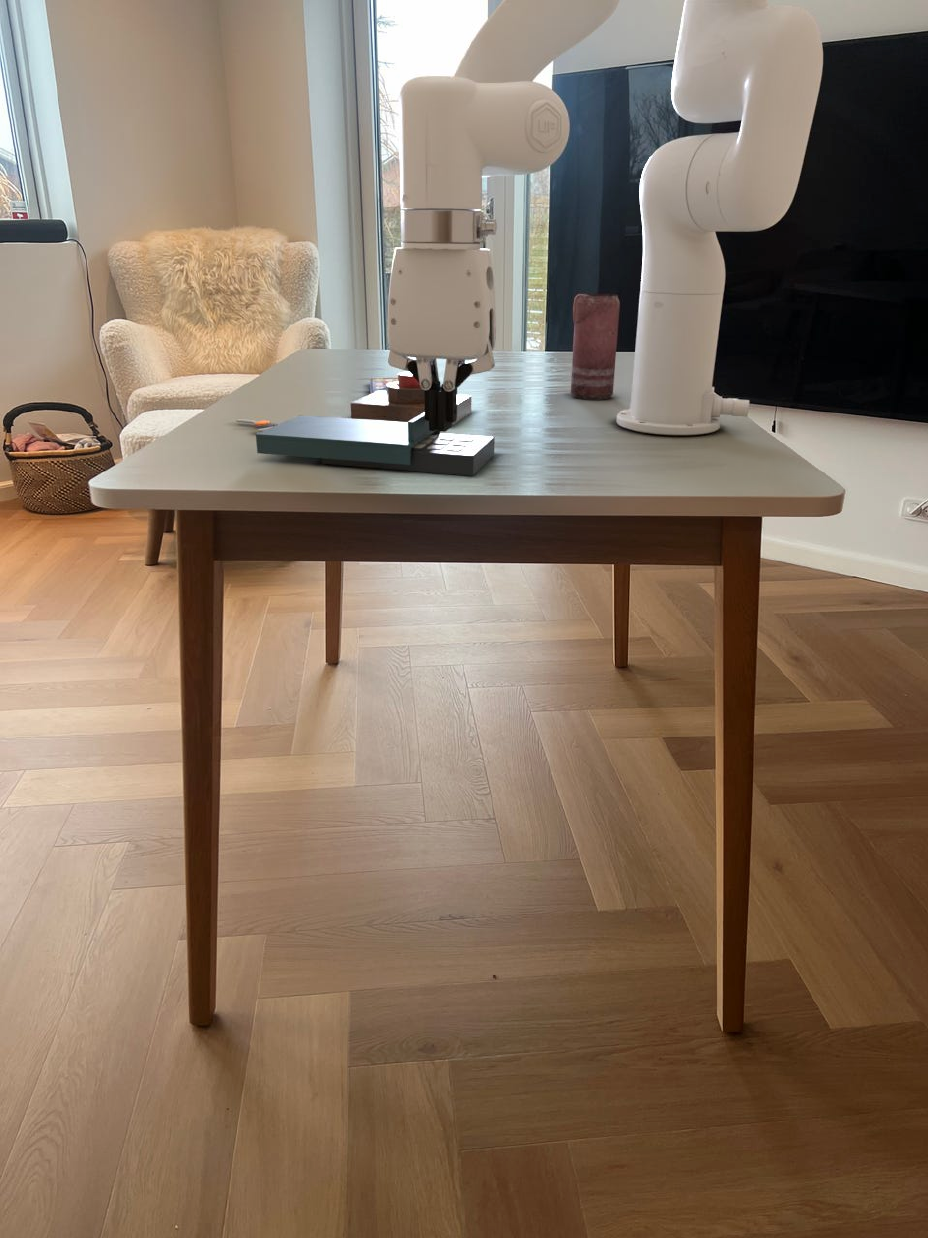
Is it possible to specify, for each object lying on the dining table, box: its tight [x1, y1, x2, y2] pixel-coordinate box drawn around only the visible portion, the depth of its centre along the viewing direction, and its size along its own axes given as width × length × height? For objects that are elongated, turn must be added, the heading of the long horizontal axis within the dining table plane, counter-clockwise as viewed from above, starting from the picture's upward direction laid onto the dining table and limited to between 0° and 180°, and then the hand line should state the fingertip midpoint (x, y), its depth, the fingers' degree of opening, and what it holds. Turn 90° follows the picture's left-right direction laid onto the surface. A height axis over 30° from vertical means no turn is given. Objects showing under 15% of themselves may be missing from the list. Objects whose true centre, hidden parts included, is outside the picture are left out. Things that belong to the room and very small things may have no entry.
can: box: [570, 293, 621, 401], centre depth 124 cm, size 6×6×14 cm
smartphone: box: [369, 377, 398, 394], centre depth 128 cm, size 1×7×15 cm
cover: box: [255, 412, 441, 465], centre depth 92 cm, size 17×10×4 cm, turn 75°
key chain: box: [235, 418, 279, 433], centre depth 105 cm, size 13×7×1 cm, turn 102°
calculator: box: [321, 432, 496, 477], centre depth 91 cm, size 16×9×2 cm, turn 75°
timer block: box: [350, 382, 472, 427], centre depth 111 cm, size 13×10×4 cm
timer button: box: [397, 371, 420, 388], centre depth 110 cm, size 4×4×2 cm
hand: (440, 428), depth 89 cm, fingers closed
